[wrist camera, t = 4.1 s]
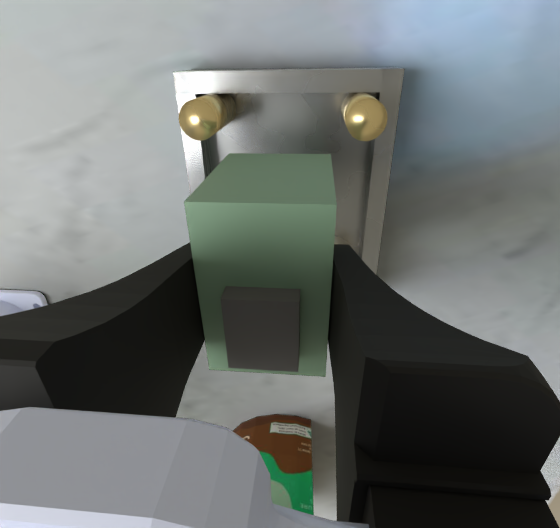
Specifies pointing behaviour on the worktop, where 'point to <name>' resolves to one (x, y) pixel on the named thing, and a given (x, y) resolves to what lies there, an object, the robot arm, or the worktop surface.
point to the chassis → (301, 131)
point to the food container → (284, 457)
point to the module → (265, 261)
